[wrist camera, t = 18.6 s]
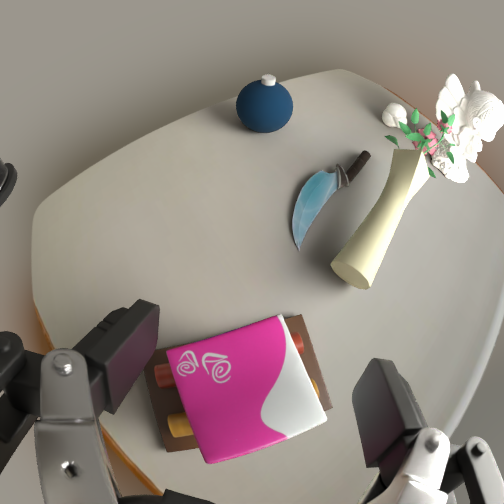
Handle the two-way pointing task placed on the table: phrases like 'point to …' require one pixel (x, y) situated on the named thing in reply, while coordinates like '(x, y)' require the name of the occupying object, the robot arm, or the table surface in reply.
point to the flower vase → (390, 204)
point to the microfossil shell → (394, 115)
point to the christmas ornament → (264, 105)
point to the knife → (321, 195)
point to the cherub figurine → (465, 125)
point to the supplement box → (245, 390)
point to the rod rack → (169, 401)
